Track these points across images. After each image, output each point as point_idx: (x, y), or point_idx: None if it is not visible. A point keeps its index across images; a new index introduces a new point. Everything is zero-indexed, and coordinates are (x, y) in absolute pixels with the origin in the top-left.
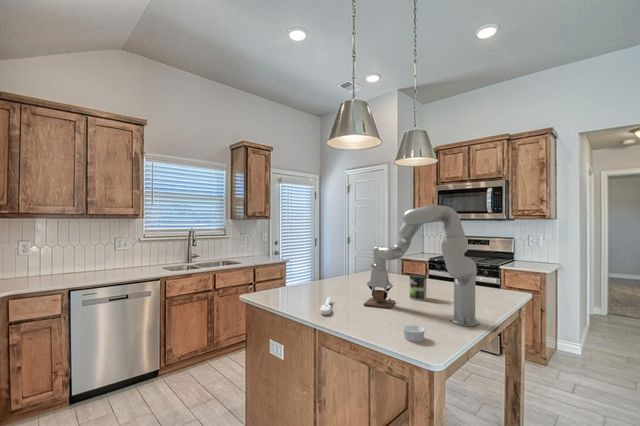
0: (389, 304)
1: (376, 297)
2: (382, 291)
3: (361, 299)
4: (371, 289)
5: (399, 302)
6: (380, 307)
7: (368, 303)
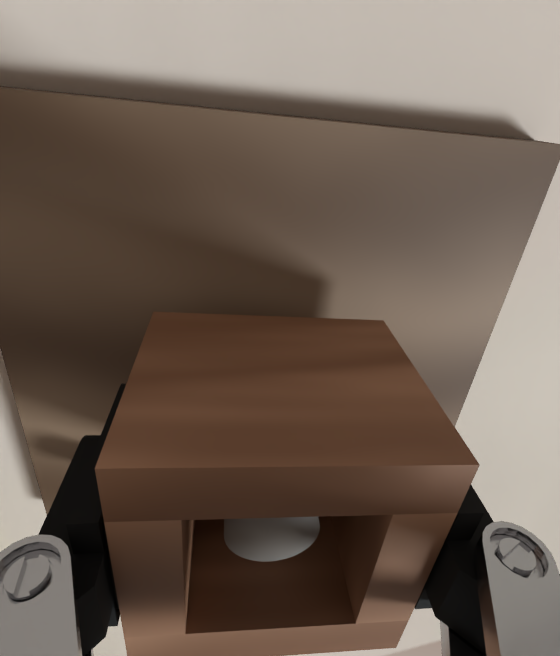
0: (35, 292)
1: (329, 357)
2: (211, 607)
3: (523, 470)
4: (554, 568)
5: (5, 523)
6: (189, 106)
7: (462, 216)
